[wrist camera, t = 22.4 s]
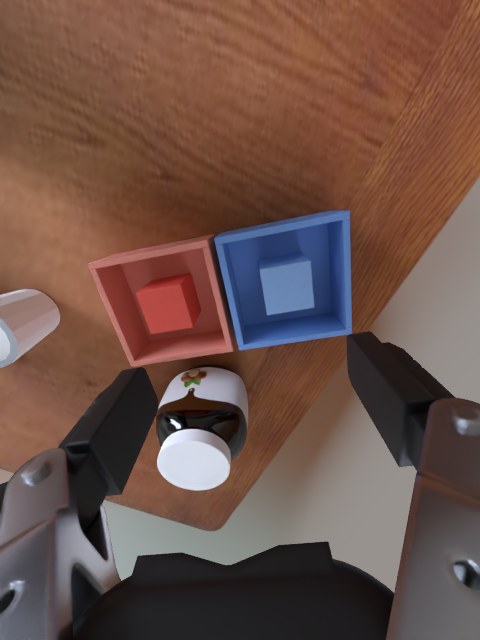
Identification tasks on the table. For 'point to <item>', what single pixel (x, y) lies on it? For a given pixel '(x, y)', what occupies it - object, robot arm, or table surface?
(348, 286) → the blue bin
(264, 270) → the blue block
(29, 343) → the shot glass
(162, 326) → the red block
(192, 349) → the red bin
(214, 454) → the spread jar
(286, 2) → the table surface
